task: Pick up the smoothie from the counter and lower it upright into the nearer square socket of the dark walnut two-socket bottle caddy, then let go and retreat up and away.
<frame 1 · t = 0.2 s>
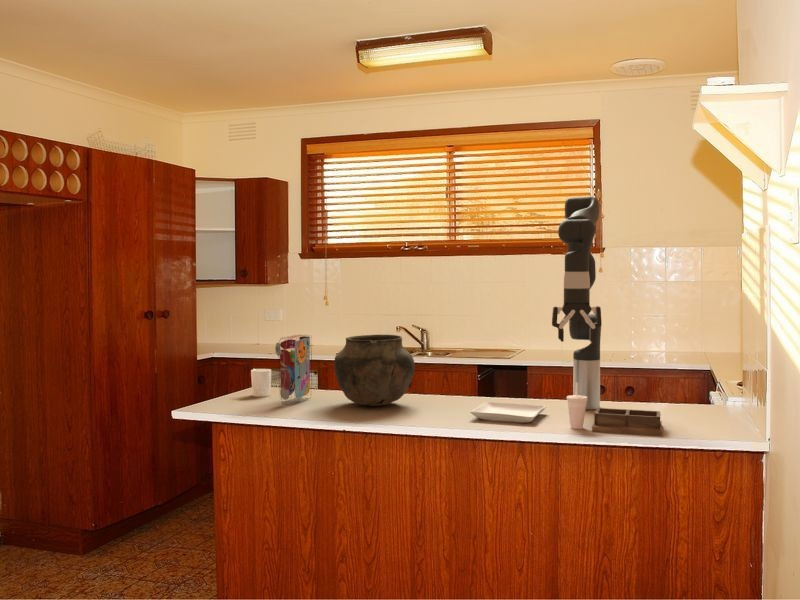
hand: (576, 341, 224), 28 cm above the countertop, fingers open, 8 cm apart
white cup: (261, 396, 294), on the countertop
salad plate: (508, 418, 250), on the countertop
pot: (374, 406, 272), on the countertop
box: (291, 403, 277), on the countertop
smoothie: (576, 428, 233), on the countertop
bottle caddy: (627, 428, 231), on the countertop
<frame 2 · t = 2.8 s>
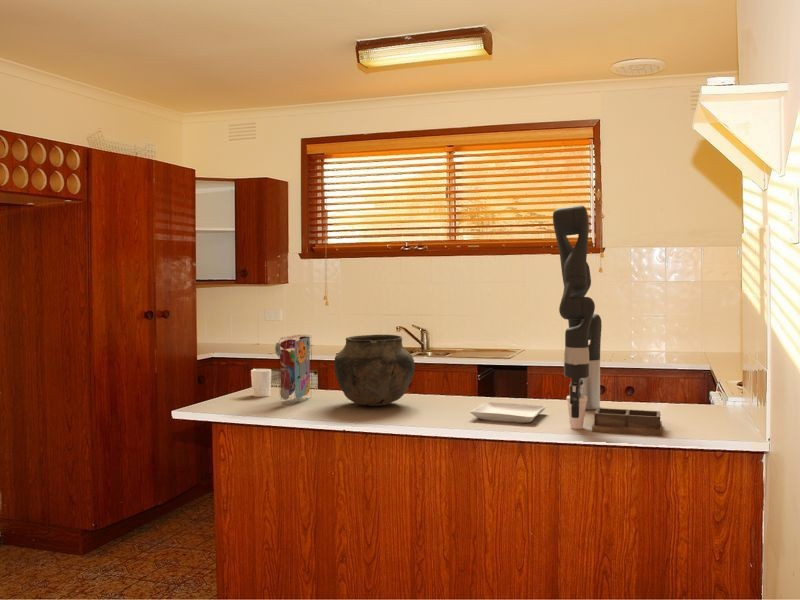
hand: (576, 415, 232), 4 cm above the countertop, fingers closed on smoothie, 6 cm apart
smoothie: (576, 428, 233), on the countertop, touching gripper
everything else where it was.
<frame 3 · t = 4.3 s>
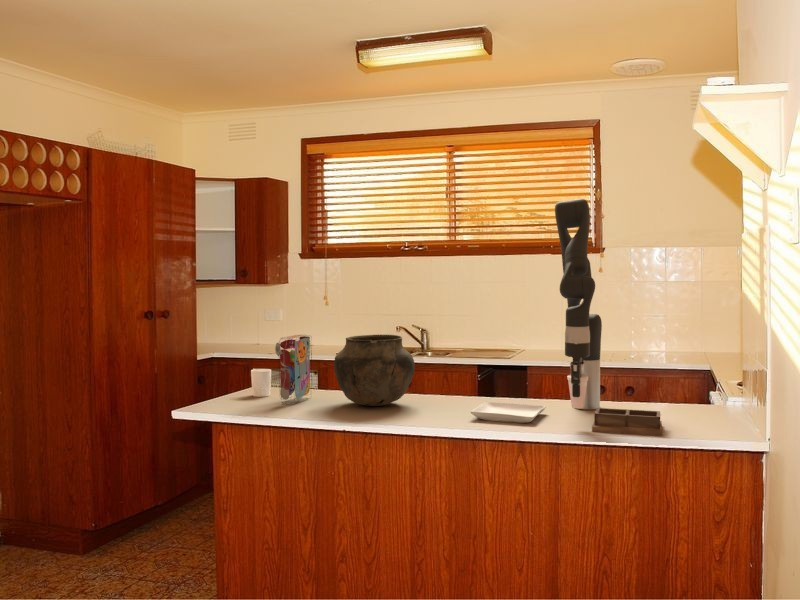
hand: (577, 394, 232), 10 cm above the countertop, fingers closed on smoothie, 5 cm apart
smoothie: (577, 407, 232), point 6 cm above the countertop, touching gripper
everything else where it was.
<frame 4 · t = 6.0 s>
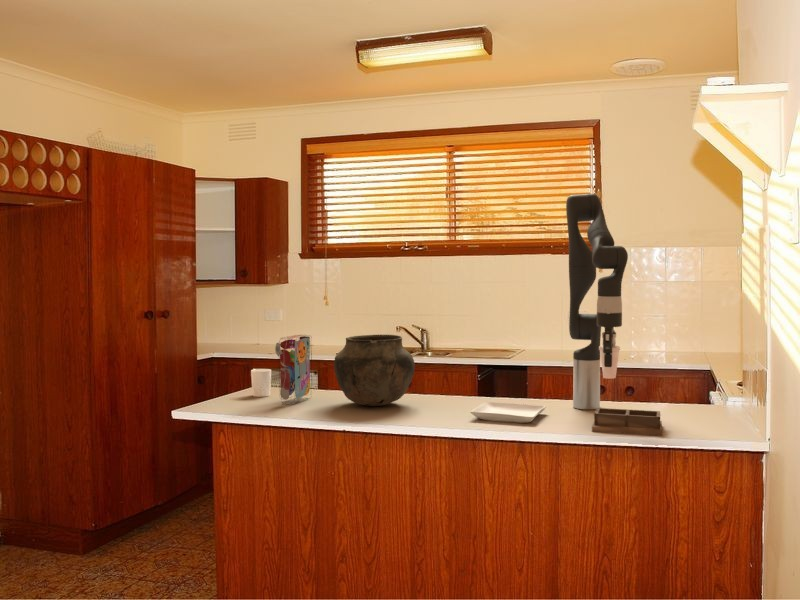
hand: (608, 365, 232), 19 cm above the countertop, fingers closed on smoothie, 5 cm apart
smoothie: (609, 378, 232), point 15 cm above the countertop, touching gripper
everything else where it was.
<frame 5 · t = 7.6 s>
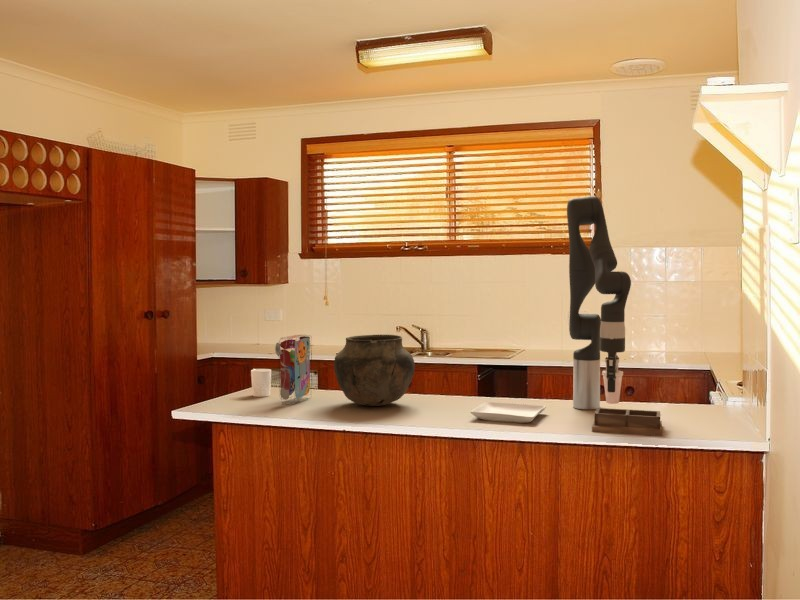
hand: (611, 390, 232), 12 cm above the countertop, fingers closed on smoothie, 5 cm apart
smoothie: (612, 403, 232), point 8 cm above the countertop, touching gripper
everything else where it was.
when the fingers open (7 cm above the countertop, at t = 9.0 s): smoothie drops 1 cm, resting on bottle caddy.
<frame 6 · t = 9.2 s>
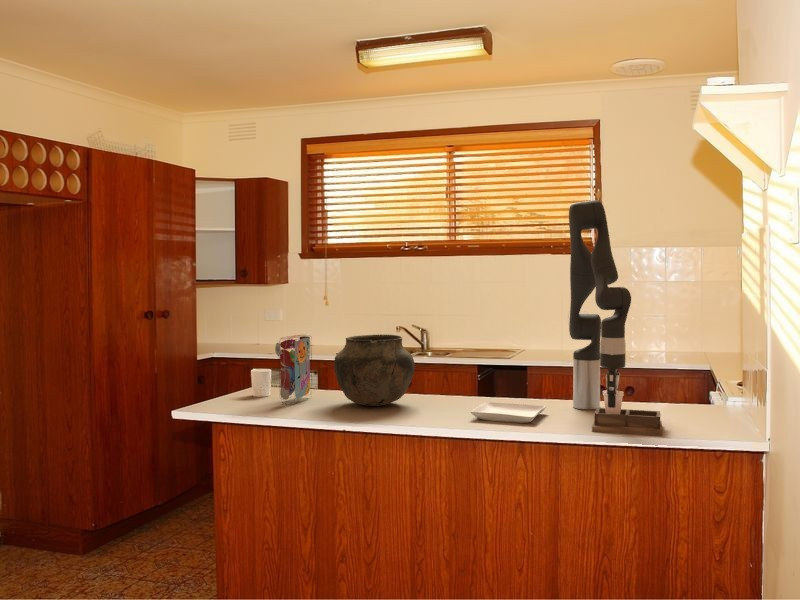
hand: (612, 405, 232), 7 cm above the countertop, fingers open, 6 cm apart
smoothie: (612, 423, 233), point 1 cm above the countertop, touching bottle caddy, gripper
everything else where it was.
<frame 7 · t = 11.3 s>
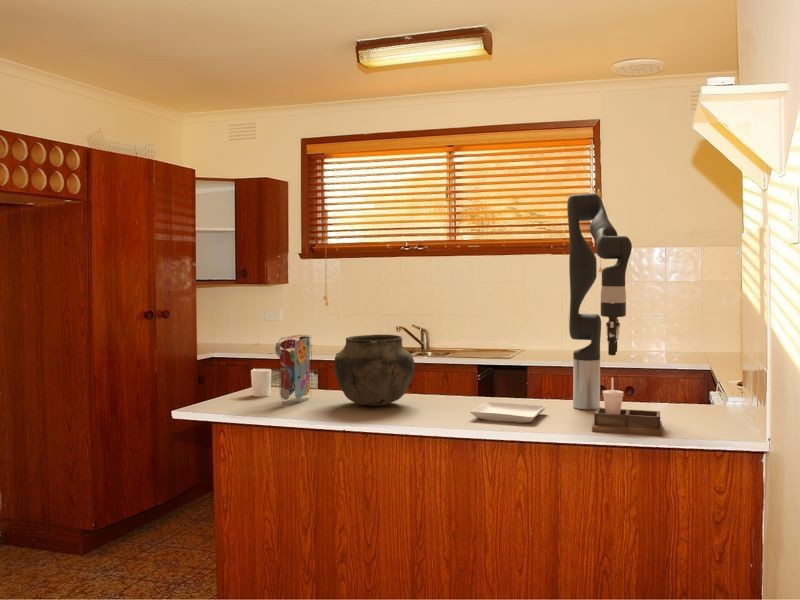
hand: (612, 353, 232), 23 cm above the countertop, fingers open, 8 cm apart
smoothie: (612, 423, 233), point 1 cm above the countertop, touching bottle caddy
everything else where it was.
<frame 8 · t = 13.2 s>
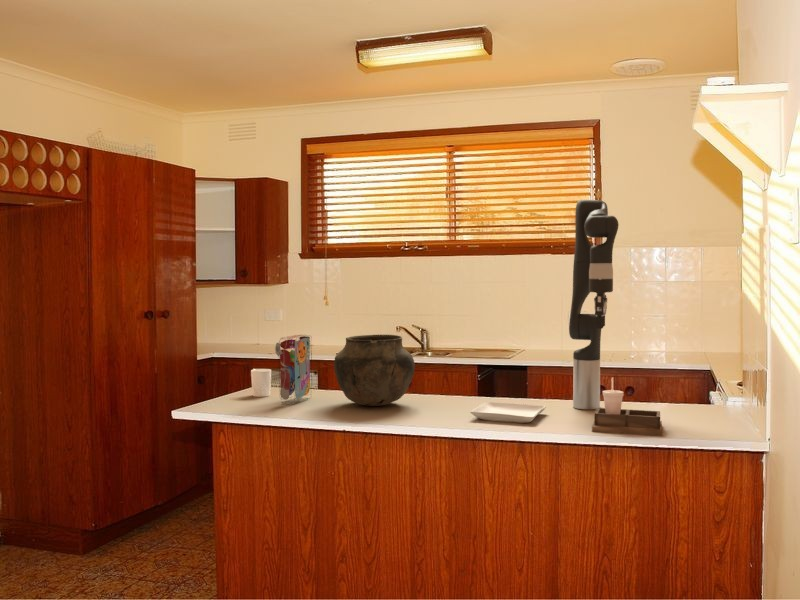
hand: (600, 327, 244), 30 cm above the countertop, fingers open, 8 cm apart
nothing on the countertop moved.
at the end: smoothie 0.3 cm from the target spot on the bottle caddy, point 1.3 cm above the bottle caddy's base; smoothie tilted 0°; the gripper is holding nothing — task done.
